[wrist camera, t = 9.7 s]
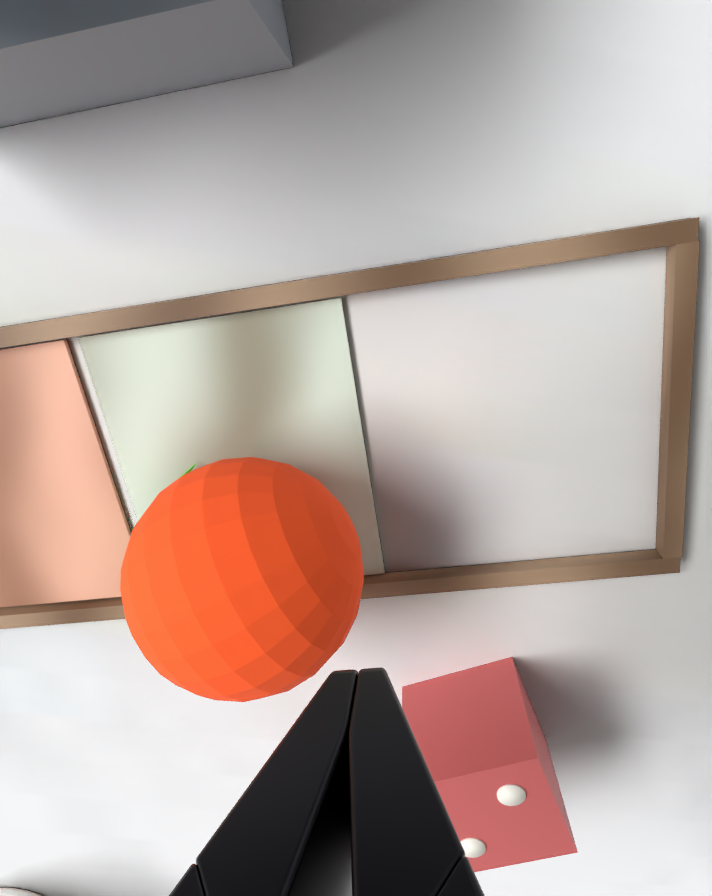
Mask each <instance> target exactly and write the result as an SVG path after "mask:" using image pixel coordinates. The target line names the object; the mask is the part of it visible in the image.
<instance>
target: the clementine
mask: <svg viewBox="0 0 712 896" xmlns="http://www.w3.org/2000/svg"><path fill="white" fill-rule="evenodd" d="M195 465H196V463H195V464H194V465H193V466H192V467H191V468H190V469H189V470H187V471H186V472H185V473H184V474H183V475H182V476H181V477H180V478H178V479H177V480H176V481H175V482H173V483H172V484H170V485H169V486H168V487H166V488H165V489H164V490H162V491H161V492H160V493H159V494H158V495H157V496H156V498H155V499H154V500H153V502H152V503H151V504H150V506H149V507H148V508H147V510H146V511H145V512H144V514H143V515H142V516H141V518H140V519H139V521H138V522H137V524H136V525H135V527H134V528H133V530H132V533H131V537H130V540H129V543H128V546H127V549H126V552H125V556H124V559H123V563H122V567H121V582H120V592H121V597H122V602H123V608H124V613H125V618H126V621H127V624H128V626H129V629H130V632H131V634H132V636H133V638H134V640H135V641H136V643H137V645H138V646H139V648H140V650H141V651H142V653H143V655H144V656H145V658H146V659H147V660H148V661H149V662H150V663H151V665H152V666H153V667H154V668H155V669H156V670H157V671H158V672H159V673H160V674H161V675H162V676H163V677H165V678H166V679H168V680H169V681H171V682H172V683H174V684H175V685H177V686H179V687H181V688H183V689H186V690H188V691H190V692H192V693H194V694H196V695H199V696H203V697H206V698H210V699H213V700H223V701H238V702H245V701H250V700H255V699H260V698H263V697H267V696H271V695H275V694H279V693H282V692H286V691H289V690H291V689H292V688H294V687H295V686H297V685H299V684H300V683H302V682H303V681H305V680H307V679H308V678H310V677H312V676H313V675H315V674H316V673H317V671H318V670H319V669H320V668H321V667H322V666H323V665H324V664H325V663H326V662H327V661H328V660H329V658H330V657H331V656H332V655H333V654H334V653H335V652H336V651H337V650H338V648H339V647H340V646H341V645H342V644H343V643H344V641H345V639H346V637H347V635H348V633H349V631H350V629H351V627H352V625H353V622H354V620H355V618H356V616H357V613H358V608H359V604H360V598H361V593H362V587H363V582H364V570H363V562H362V554H361V546H360V541H359V538H358V535H357V532H356V530H355V527H354V525H353V523H352V521H351V519H350V517H349V515H348V513H347V512H346V510H345V508H344V507H343V506H342V504H341V503H340V502H339V501H338V500H337V499H336V498H335V497H334V496H333V495H332V494H331V493H330V492H329V491H328V490H327V488H326V487H325V486H324V485H323V484H322V483H321V482H320V481H318V480H317V479H315V478H314V477H312V476H310V475H308V474H306V473H304V472H303V471H301V470H299V469H297V468H295V467H293V466H291V465H290V464H286V463H281V462H277V461H272V460H267V459H262V458H255V457H245V458H231V459H222V460H219V461H216V462H213V463H211V464H208V465H205V466H202V467H200V468H197V469H194V470H193V471H191V470H192V469H193V468H194V466H195Z"/></svg>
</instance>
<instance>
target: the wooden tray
mask: <svg viewBox="0 0 712 896" xmlns="http://www.w3.org/2000/svg"><path fill="white" fill-rule="evenodd" d="M698 229H699V218H686V219H680V220H674V221H667V222H661V223H655V224H649V225H642V226H636V227H630V228H623V229H617V230H611V231H604V232H598V233H592V234H585V235H579V236H573V237H566V238H560V239H554V240H547V241H541V242H535V243H528V244H522V245H516V246H509V247H503V248H497V249H490V250H484V251H478V252H471V253H465V254H459V255H452V256H446V257H440V258H433V259H427V260H421V261H414V262H408V263H402V264H395V265H389V266H383V267H376V268H370V269H364V270H357V271H351V272H345V273H338V274H332V275H326V276H319V277H313V278H307V279H300V280H294V281H288V282H281V283H275V284H269V285H262V286H256V287H250V288H243V289H237V290H231V291H224V292H218V293H212V294H205V295H199V296H193V297H186V298H180V299H174V300H167V301H161V302H155V303H148V304H142V305H136V306H129V307H123V308H117V309H110V310H104V311H98V312H91V313H85V314H79V315H72V316H66V317H60V318H53V319H47V320H41V321H34V322H28V323H22V324H16V325H9V326H3V327H0V348H3V347H9V346H16V345H22V344H29V343H35V342H42V341H48V340H55V339H61V338H68V337H75V336H81V335H88V334H94V333H101V332H107V331H114V330H120V329H127V328H133V327H140V326H147V325H153V324H160V323H166V322H173V321H179V320H186V319H192V318H199V317H205V316H212V315H219V314H225V313H232V312H238V311H245V310H251V309H258V308H264V307H271V306H277V305H284V304H291V303H297V302H304V301H310V300H317V299H323V298H330V297H336V296H343V295H349V294H356V293H363V292H369V291H376V290H382V289H389V288H395V287H402V286H408V285H415V284H421V283H428V282H435V281H441V280H448V279H454V278H461V277H467V276H474V275H480V274H487V273H493V272H500V271H507V270H513V269H520V268H526V267H533V266H539V265H546V264H552V263H559V262H565V261H572V260H579V259H585V258H592V257H598V256H605V255H611V254H618V253H624V252H631V251H637V250H644V249H651V248H657V247H664V246H667V253H666V280H665V308H664V335H663V363H662V390H661V418H660V445H659V472H658V500H657V527H656V549H652V550H641V551H630V552H619V553H607V554H596V555H585V556H573V557H562V558H551V559H540V560H528V561H517V562H506V563H494V564H483V565H472V566H461V567H449V568H438V569H427V570H415V571H404V572H393V573H385V569H384V563H383V557H382V550H381V544H380V538H379V532H378V525H377V519H376V513H375V506H374V500H373V494H372V488H371V481H370V475H369V469H368V462H367V456H366V450H365V444H364V437H363V431H362V425H361V418H360V412H359V406H358V400H357V393H356V387H355V381H354V374H353V368H352V362H351V356H350V349H349V343H348V337H347V330H346V324H345V318H344V312H343V305H342V299H341V297H340V298H334V299H327V300H321V301H314V302H308V303H301V304H294V305H288V306H281V307H275V308H268V309H262V310H255V311H249V312H242V313H235V314H229V315H222V316H216V317H209V318H203V319H196V320H190V321H183V322H176V323H170V324H163V325H157V326H150V327H144V328H137V329H130V330H124V331H117V332H111V333H104V334H98V335H91V336H85V337H79V338H78V340H79V343H80V346H81V349H82V352H83V355H84V358H85V361H86V364H87V367H88V370H89V374H90V377H91V380H92V383H93V386H94V389H95V392H96V395H97V398H98V401H99V404H100V407H101V410H102V413H103V416H104V420H105V423H106V426H107V429H108V432H109V435H110V438H111V441H112V444H113V447H114V450H115V453H116V456H117V459H118V462H119V465H120V469H121V472H122V475H123V478H124V481H125V484H126V487H127V490H128V493H129V496H130V499H131V502H132V505H133V508H134V511H135V515H136V518H137V521H139V519H140V518H141V516H142V515H143V514H144V512H145V511H146V510H147V508H148V507H149V506H150V504H151V503H152V502H153V500H154V499H155V498H156V496H157V495H158V494H159V493H160V492H161V491H162V490H164V489H165V488H166V487H168V486H169V485H170V484H172V483H173V482H175V481H176V480H177V479H178V478H180V477H181V476H182V475H183V474H184V473H185V472H186V471H187V470H189V469H190V468H191V467H192V466H193V465H194V464H195V463H196V465H195V466H194V468H193V469H192V470H191V471H193V470H194V469H197V468H200V467H202V466H205V465H208V464H211V463H213V462H216V461H219V460H222V459H231V458H245V457H255V458H262V459H267V460H272V461H277V462H281V463H286V464H290V465H291V466H293V467H295V468H297V469H299V470H301V471H303V472H304V473H306V474H308V475H310V476H312V477H314V478H315V479H317V480H318V481H320V482H321V483H322V484H323V485H324V486H325V487H326V488H327V490H328V491H329V492H330V493H331V494H332V495H333V496H334V497H335V498H336V499H337V500H338V501H339V502H340V503H341V504H342V506H343V507H344V508H345V510H346V512H347V513H348V515H349V517H350V519H351V521H352V523H353V525H354V527H355V530H356V532H357V535H358V538H359V541H360V546H361V554H362V562H363V570H364V582H363V587H362V593H361V598H360V599H367V598H379V597H391V596H403V595H415V594H427V593H439V592H451V591H463V590H475V589H487V588H499V587H511V586H523V585H535V584H547V583H559V582H571V581H583V580H595V579H607V578H619V577H631V576H643V575H655V574H667V573H679V572H680V560H681V557H682V552H683V534H684V516H685V498H686V480H687V462H688V444H689V426H690V408H691V390H692V372H693V354H694V336H695V318H696V300H697V282H698V264H699V246H700V241H698ZM130 537H131V532H130V529H129V526H128V523H127V520H126V517H125V514H124V511H123V508H122V505H121V502H120V499H119V496H118V493H117V490H116V487H115V484H114V481H113V478H112V475H111V472H110V469H109V466H108V463H107V460H106V457H105V454H104V451H103V448H102V445H101V442H100V439H99V436H98V433H97V430H96V427H95V424H94V421H93V418H92V415H91V412H90V409H89V406H88V403H87V400H86V397H85V394H84V391H83V388H82V385H81V382H80V379H79V376H78V373H77V370H76V367H75V364H74V361H73V358H72V355H71V352H70V349H69V346H68V343H67V340H66V339H65V340H58V341H52V342H45V343H39V344H32V345H26V346H19V347H12V348H6V349H0V629H6V628H18V627H30V626H42V625H54V624H66V623H78V622H91V621H103V620H115V619H126V618H125V613H124V608H123V602H122V597H121V592H120V582H121V567H122V563H123V559H124V556H125V552H126V549H127V546H128V543H129V540H130Z"/></svg>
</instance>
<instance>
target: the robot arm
mask: <svg viewBox="0 0 712 896" xmlns="http://www.w3.org/2000/svg"><path fill="white" fill-rule="evenodd" d="M196 864H197V865H196ZM196 864H192V865H191V866H190V867H189V869H188V870H187V872H186V873H185V874H184V876H183V877H182V879H181V880H180V881H179V883H178V884H177V885H176V887H175V888H174V890H173V891H172V892H171V894H170V895H169V896H484V894H483V891H482V889H481V887H480V885H479V883H478V880H477V878H476V876H475V874H474V871H473V869H472V867H471V864H470V862H469V860H468V858H467V857H466V856H465V851H464V849H463V847H462V844H461V842H460V840H459V837H458V835H457V833H456V831H455V828H454V826H453V824H452V821H451V819H450V817H449V814H448V812H447V810H446V808H445V805H444V803H443V801H442V798H441V796H440V794H439V792H438V789H437V787H436V785H435V782H434V780H433V778H432V775H431V773H430V771H429V769H428V766H427V764H426V762H425V759H424V757H423V755H422V753H421V750H420V748H419V746H418V743H417V741H416V739H415V736H414V734H413V732H412V730H411V727H410V725H409V723H408V720H407V718H406V716H405V713H404V711H403V709H402V707H401V704H400V702H399V700H398V697H397V695H396V693H395V691H394V688H393V686H392V684H391V681H390V679H389V677H388V674H387V672H386V670H385V669H384V668H369V669H361V670H360V671H359V673H358V672H357V671H356V670H340V671H334V672H332V673H331V674H330V675H329V676H328V678H327V679H326V680H325V682H324V683H323V684H322V686H321V687H320V689H319V690H318V691H317V693H316V694H315V695H314V697H313V698H312V700H311V701H310V702H309V704H308V705H307V707H306V708H305V709H304V711H303V712H302V713H301V715H300V716H299V718H298V719H297V720H296V722H295V723H294V724H293V726H292V727H291V729H290V730H289V731H288V733H287V734H286V735H285V737H284V738H283V740H282V741H281V742H280V744H279V745H278V747H277V748H276V749H275V751H274V752H273V753H272V755H271V756H270V758H269V759H268V760H267V762H266V763H265V764H264V766H263V767H262V769H261V770H260V771H259V773H258V774H257V775H256V777H255V778H254V780H253V781H252V782H251V784H250V785H249V787H248V788H247V789H246V791H245V792H244V793H243V795H242V796H241V798H240V799H239V800H238V802H237V803H236V804H235V806H234V807H233V809H232V810H231V811H230V813H229V814H228V815H227V817H226V818H225V820H224V821H223V822H222V824H221V825H220V827H219V828H218V829H217V831H216V832H215V833H214V835H213V836H212V838H211V839H210V840H209V842H208V843H207V844H206V846H205V847H204V849H203V850H202V851H201V853H200V854H199V855H198V857H197V858H196Z"/></svg>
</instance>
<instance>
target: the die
mask: <svg viewBox="0 0 712 896" xmlns="http://www.w3.org/2000/svg"><path fill="white" fill-rule="evenodd" d="M402 709H403V711H404V713H405V716H406V718H407V720H408V723H409V725H410V727H411V730H412V732H413V734H414V736H415V739H416V741H417V743H418V746H419V748H420V750H421V753H422V755H423V757H424V759H425V762H426V764H427V766H428V769H429V771H430V773H431V775H432V778H433V780H434V782H435V785H436V787H437V789H438V792H439V794H440V796H441V798H442V801H443V803H444V805H445V808H446V810H447V812H448V814H449V817H450V819H451V821H452V824H453V826H454V828H455V831H456V833H457V835H458V837H459V840H460V842H461V844H462V847H463V849H464V851H465V856H466V857H467V858H468V860H469V862H470V864H471V867H472V869H473V871H474V872H477V871H483V870H488V869H493V868H498V867H504V866H509V865H514V864H519V863H524V862H530V861H535V860H540V859H545V858H551V857H556V856H561V855H566V854H571V853H577V848H576V845H575V841H574V838H573V834H572V831H571V827H570V823H569V820H568V816H567V813H566V809H565V806H564V802H563V798H562V795H561V791H560V788H559V784H558V781H557V777H556V774H555V770H554V766H553V763H552V759H551V756H550V752H549V749H548V745H547V741H546V739H545V736H544V734H543V731H542V729H541V726H540V724H539V722H538V719H537V717H536V714H535V712H534V709H533V707H532V704H531V702H530V700H529V697H528V695H527V692H526V690H525V687H524V685H523V683H522V680H521V678H520V675H519V673H518V670H517V668H516V665H515V663H514V661H513V658H512V657H510V658H506V659H503V660H499V661H495V662H492V663H488V664H484V665H481V666H477V667H473V668H470V669H466V670H462V671H459V672H455V673H451V674H448V675H444V676H440V677H437V678H433V679H429V680H426V681H422V682H418V683H415V684H411V685H407V686H404V687H402Z"/></svg>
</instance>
